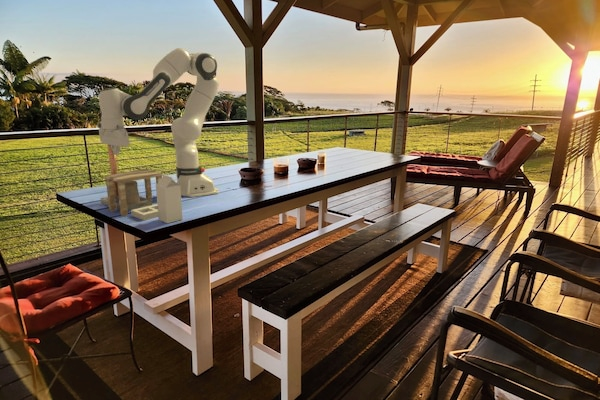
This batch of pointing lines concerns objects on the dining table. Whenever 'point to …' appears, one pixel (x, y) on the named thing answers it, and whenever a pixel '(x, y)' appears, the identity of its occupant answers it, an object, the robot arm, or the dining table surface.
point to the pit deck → (146, 212)
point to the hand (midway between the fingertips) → (116, 155)
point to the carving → (131, 192)
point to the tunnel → (120, 180)
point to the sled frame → (113, 170)
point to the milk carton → (169, 200)
